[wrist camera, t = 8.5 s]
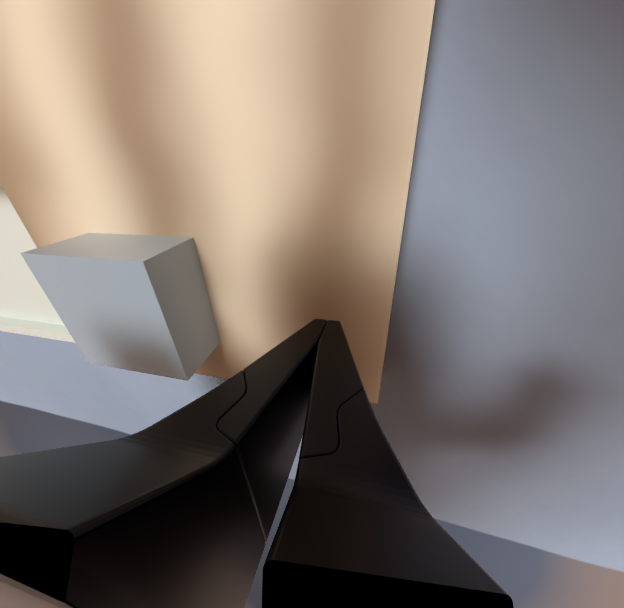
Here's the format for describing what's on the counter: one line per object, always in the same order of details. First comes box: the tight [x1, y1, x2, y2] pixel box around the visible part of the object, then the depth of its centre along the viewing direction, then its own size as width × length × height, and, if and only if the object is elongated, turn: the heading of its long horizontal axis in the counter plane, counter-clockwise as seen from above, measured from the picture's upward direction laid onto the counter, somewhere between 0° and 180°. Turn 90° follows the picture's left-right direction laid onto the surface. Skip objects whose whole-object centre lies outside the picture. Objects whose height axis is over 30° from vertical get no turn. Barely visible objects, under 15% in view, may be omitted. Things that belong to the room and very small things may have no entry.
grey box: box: [20, 233, 221, 380], centre depth 11 cm, size 5×5×2 cm
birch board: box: [0, 0, 435, 404], centre depth 10 cm, size 16×18×2 cm
